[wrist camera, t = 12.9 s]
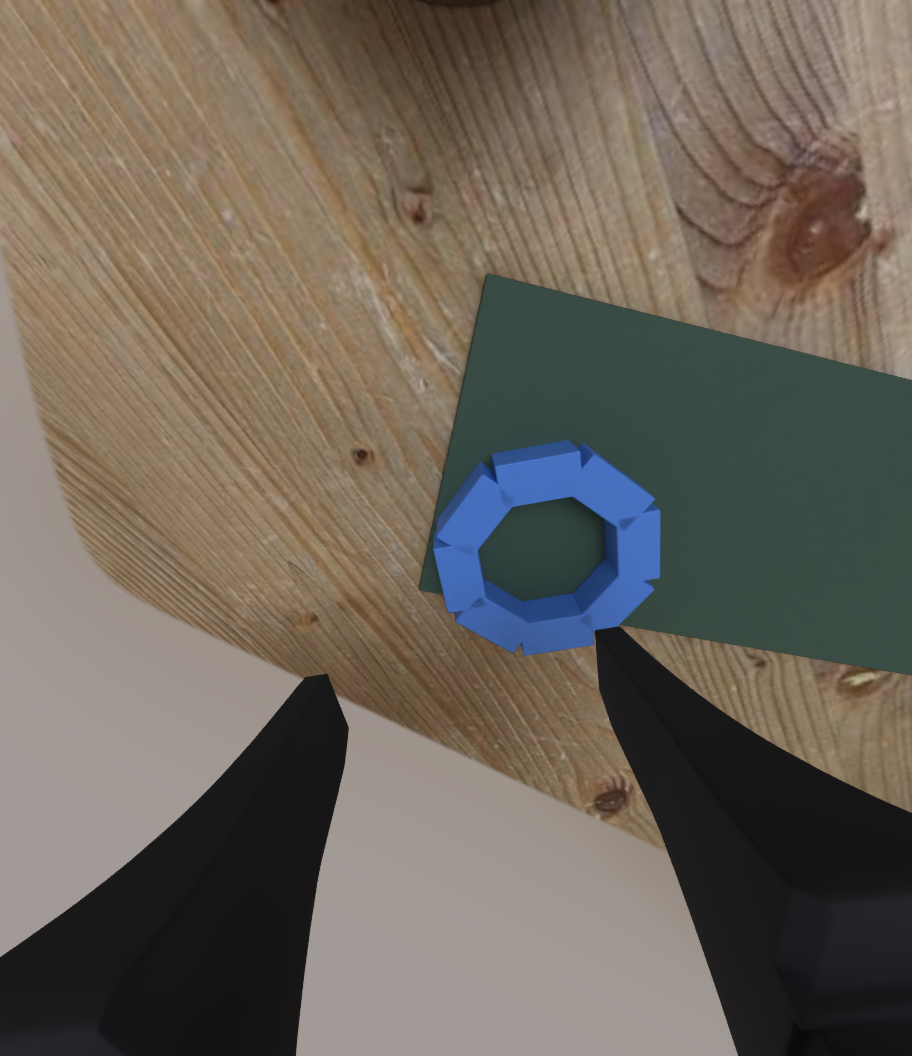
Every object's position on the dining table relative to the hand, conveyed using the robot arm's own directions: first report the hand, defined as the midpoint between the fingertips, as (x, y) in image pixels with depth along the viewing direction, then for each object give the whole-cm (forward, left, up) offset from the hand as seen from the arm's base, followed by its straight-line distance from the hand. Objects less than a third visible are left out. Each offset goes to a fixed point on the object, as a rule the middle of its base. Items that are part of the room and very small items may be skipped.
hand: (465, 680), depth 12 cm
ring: (+3, 0, -7) cm, 8 cm away
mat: (+19, -5, -8) cm, 21 cm away
